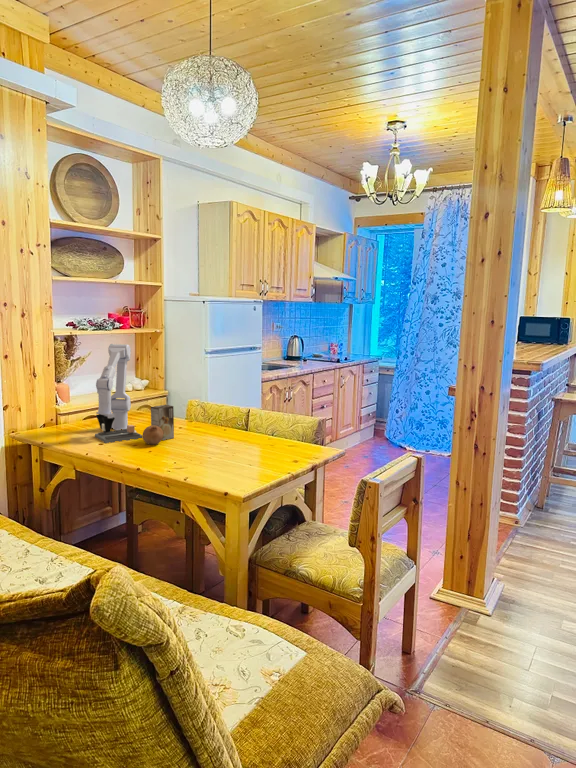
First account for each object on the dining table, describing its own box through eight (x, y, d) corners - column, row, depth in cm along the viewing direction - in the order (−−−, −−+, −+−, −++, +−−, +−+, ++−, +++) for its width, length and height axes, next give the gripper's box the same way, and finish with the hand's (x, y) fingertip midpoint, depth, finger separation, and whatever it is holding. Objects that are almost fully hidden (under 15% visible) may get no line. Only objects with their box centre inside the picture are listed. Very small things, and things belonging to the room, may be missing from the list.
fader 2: (127, 435, 259) (127, 425, 258) (132, 434, 260) (131, 424, 260) (129, 436, 256) (129, 426, 256) (134, 435, 258) (134, 426, 257)
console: (94, 436, 261) (94, 431, 261) (130, 432, 272) (130, 427, 272) (105, 443, 249) (105, 437, 249) (142, 438, 260) (142, 432, 260)
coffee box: (165, 436, 266) (165, 404, 264) (174, 438, 262) (174, 405, 260) (150, 439, 259) (150, 406, 257) (159, 441, 255) (159, 408, 253)
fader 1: (101, 433, 261) (101, 423, 260) (106, 433, 262) (106, 423, 262) (104, 434, 258) (103, 425, 258) (109, 434, 260) (108, 424, 259)
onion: (156, 452, 248) (157, 435, 242) (138, 445, 249) (139, 428, 244) (166, 440, 256) (167, 424, 250) (148, 434, 257) (149, 417, 252)
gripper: (91, 401, 262) (92, 428, 263) (101, 405, 250) (102, 434, 252) (106, 400, 266) (106, 426, 268) (116, 404, 254) (116, 432, 256)
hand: (105, 430), depth 260 cm, fingers open, 7 cm apart
